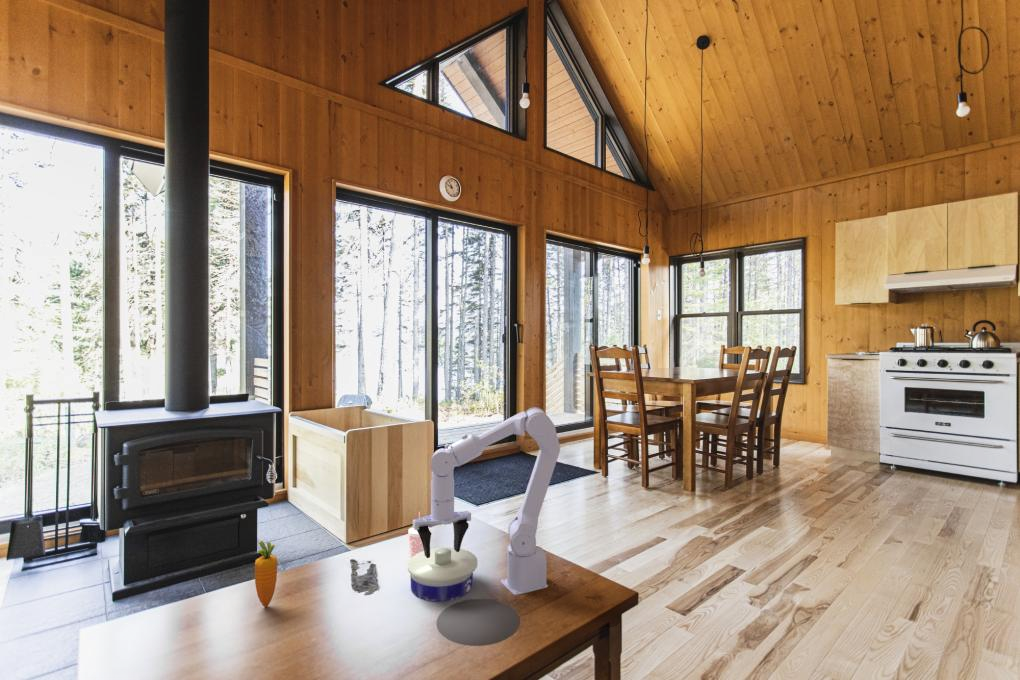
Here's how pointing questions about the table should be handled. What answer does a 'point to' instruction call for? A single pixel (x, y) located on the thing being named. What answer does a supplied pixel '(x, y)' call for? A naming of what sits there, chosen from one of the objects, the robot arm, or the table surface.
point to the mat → (478, 622)
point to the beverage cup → (415, 541)
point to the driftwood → (363, 579)
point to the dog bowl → (441, 588)
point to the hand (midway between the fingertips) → (442, 553)
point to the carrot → (265, 574)
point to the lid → (442, 564)
